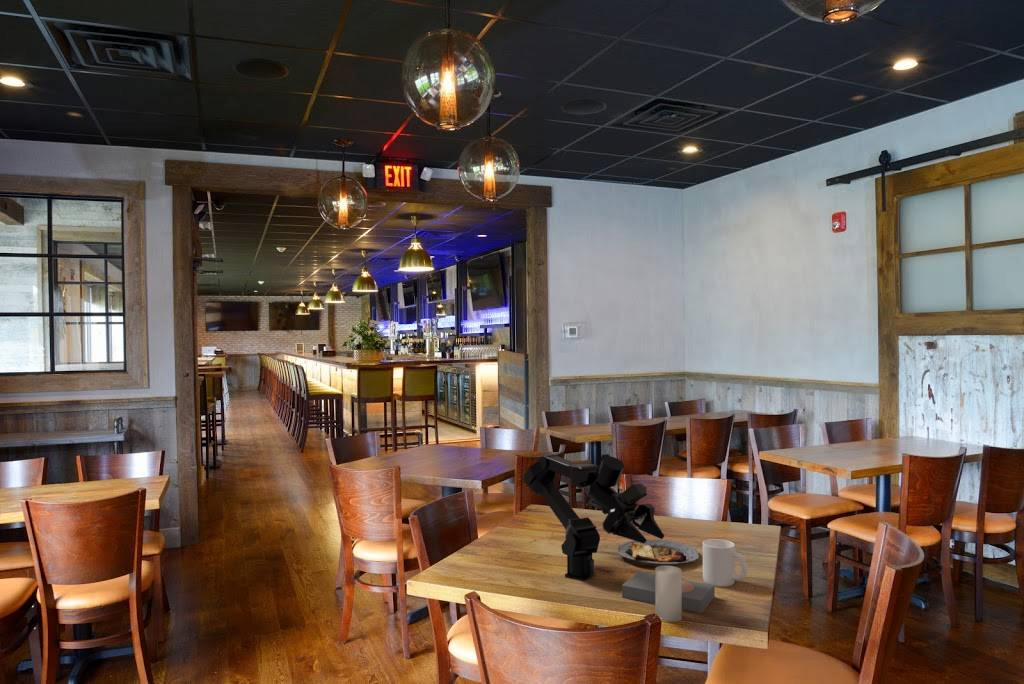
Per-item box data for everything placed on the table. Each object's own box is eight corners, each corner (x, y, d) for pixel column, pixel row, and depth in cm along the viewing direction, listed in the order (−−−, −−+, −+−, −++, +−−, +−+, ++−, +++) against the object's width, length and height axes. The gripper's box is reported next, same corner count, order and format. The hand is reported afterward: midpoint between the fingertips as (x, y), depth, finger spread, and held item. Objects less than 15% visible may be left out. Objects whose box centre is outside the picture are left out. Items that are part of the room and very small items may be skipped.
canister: (651, 618, 157) (651, 571, 157) (660, 610, 162) (660, 564, 162) (677, 624, 154) (676, 575, 154) (685, 615, 159) (684, 568, 159)
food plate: (701, 572, 188) (701, 560, 188) (616, 568, 193) (616, 556, 193) (695, 548, 213) (695, 537, 213) (620, 545, 217) (620, 534, 217)
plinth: (622, 597, 170) (621, 584, 170) (638, 582, 181) (638, 570, 181) (701, 613, 160) (701, 599, 160) (714, 596, 170) (714, 584, 170)
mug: (754, 585, 178) (753, 546, 178) (739, 593, 173) (739, 553, 173) (712, 574, 187) (712, 537, 187) (697, 581, 181) (696, 543, 181)
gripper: (604, 476, 167) (652, 517, 158) (641, 473, 181) (687, 510, 172) (583, 512, 170) (629, 554, 161) (621, 506, 184) (665, 544, 175)
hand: (654, 539), depth 167 cm, fingers open, 9 cm apart
